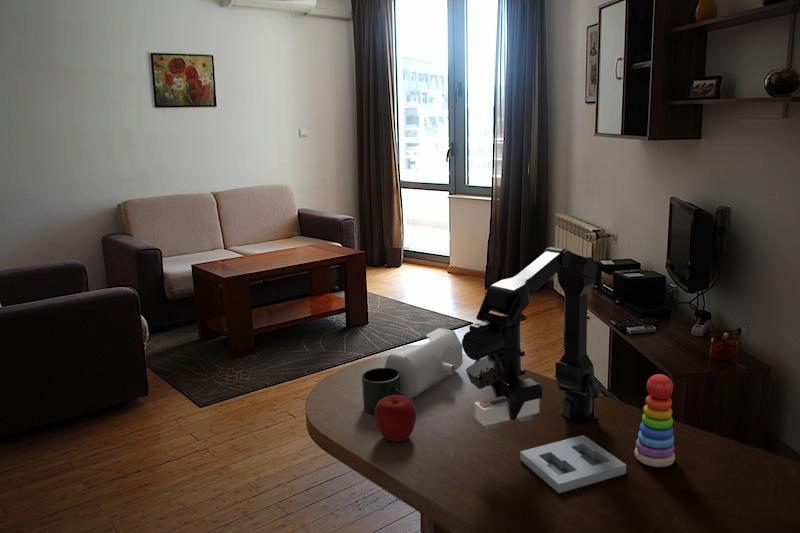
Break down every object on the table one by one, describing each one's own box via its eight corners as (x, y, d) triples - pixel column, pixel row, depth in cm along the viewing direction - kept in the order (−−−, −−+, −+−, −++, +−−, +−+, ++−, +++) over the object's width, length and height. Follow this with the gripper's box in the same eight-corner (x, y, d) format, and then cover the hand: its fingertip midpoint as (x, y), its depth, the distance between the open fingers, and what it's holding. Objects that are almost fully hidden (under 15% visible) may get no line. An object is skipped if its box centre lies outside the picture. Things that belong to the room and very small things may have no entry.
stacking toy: (655, 472, 136) (659, 386, 132) (626, 455, 143) (628, 373, 139) (683, 461, 140) (688, 377, 135) (652, 445, 147) (656, 364, 142)
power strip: (529, 411, 146) (529, 388, 145) (539, 419, 142) (539, 396, 141) (475, 424, 142) (474, 401, 140) (484, 433, 138) (483, 408, 137)
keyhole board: (583, 443, 149) (583, 434, 149) (625, 473, 137) (626, 464, 136) (520, 460, 144) (520, 451, 143) (558, 493, 131) (558, 484, 130)
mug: (388, 423, 163) (386, 388, 161) (356, 409, 172) (354, 375, 169) (416, 410, 169) (414, 376, 167) (383, 396, 178) (381, 364, 176)
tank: (426, 410, 169) (424, 363, 166) (376, 396, 179) (374, 351, 176) (477, 375, 189) (476, 333, 186) (429, 364, 198) (428, 324, 195)
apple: (425, 440, 154) (423, 399, 152) (389, 452, 149) (386, 411, 147) (403, 424, 162) (401, 385, 160) (368, 436, 157) (365, 396, 155)
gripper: (451, 338, 144) (453, 405, 148) (493, 368, 127) (495, 443, 131) (497, 329, 147) (498, 395, 151) (544, 357, 130) (544, 431, 134)
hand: (507, 415), depth 142 cm, fingers closed on power strip, 4 cm apart
